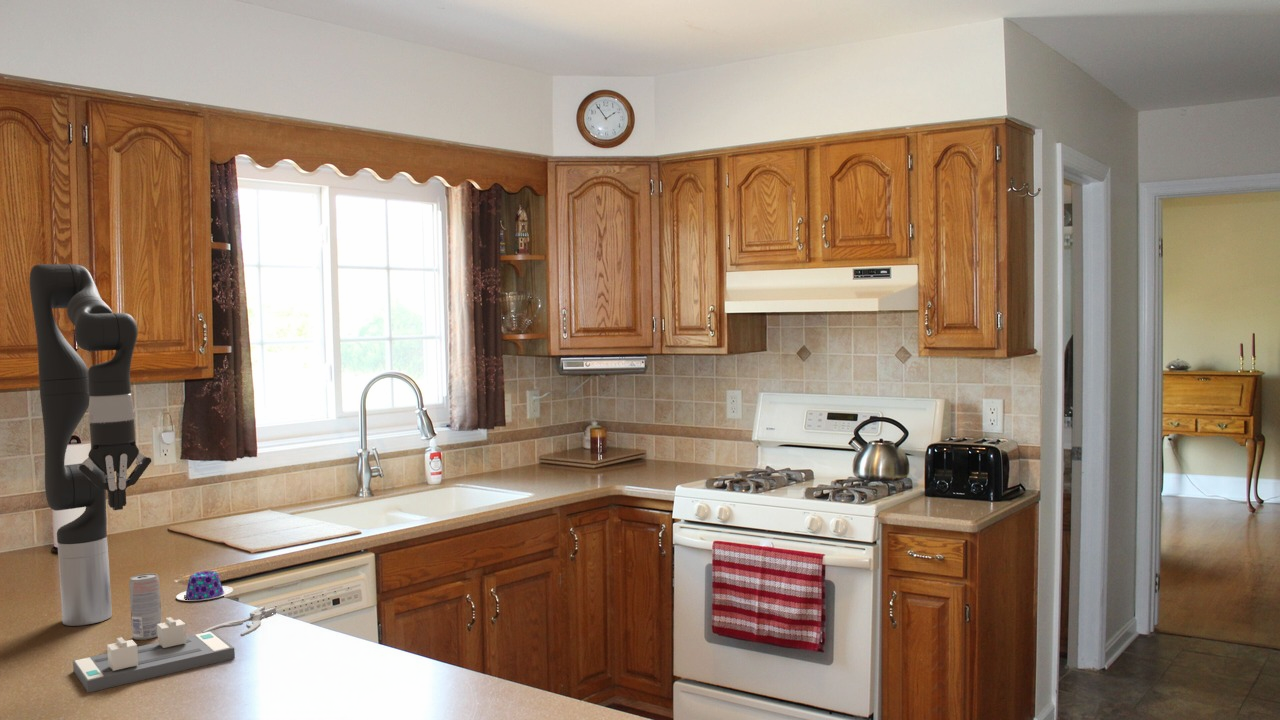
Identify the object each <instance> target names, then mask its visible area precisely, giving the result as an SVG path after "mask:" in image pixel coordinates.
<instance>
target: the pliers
mask: <svg viewBox="0 0 1280 720" xmlns="http://www.w3.org/2000/svg"><path fill="white" fill-rule="evenodd" d="M265 607H266V606H260V607H258V608H256V609H254V610H252V611H251V612H250V613H249V617H248V616H247V617H244V618H240V619H239V618H238V619H235V620H229V621H225V622H223V623H219V624H216V625H214V626H211V627H209V628H206V629H205V630H203V631H202V632H201V633H204V632H209V631H214V630H218V629H220V628H225V627H234V626H241V625H243V624H244V623H245V622H246V627H247V628H248V629H246V630H244V631H243V632H241V633H240V636H241V635H242V636H241V637H243V636H246V635H248V634H250V632H251V633H253V632H254V631H256V630H257V629H258V628H259V627H261V624H262V623H261V621H262V619H266V618H268V617H270V616H272V615H274V614H275V615H276V613H277V607H271V608H268V609H266V608H265ZM272 613H273V614H272ZM249 621H251V622H252V625H251V624H249ZM245 634H246V635H245Z"/></svg>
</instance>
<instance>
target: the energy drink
mask: <svg viewBox="0 0 1280 720" xmlns="http://www.w3.org/2000/svg"><path fill="white" fill-rule="evenodd" d="M128 585H129V586H128V587H129V603H130V604H129V605H130V615H131V616H130V620H131V635H132V638H133V639H134V640H136V641H145V640H151V639H155V638H158V632H157V624H159V623H163V622H162V607H161V606H162V605H161V603H162V602H161V591H160V578H159V576H158V574H157V573H154V572H153V573H150V572H149V573H140V574H136V575H134V576H131V577H130V578H129V581H128Z"/></svg>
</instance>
